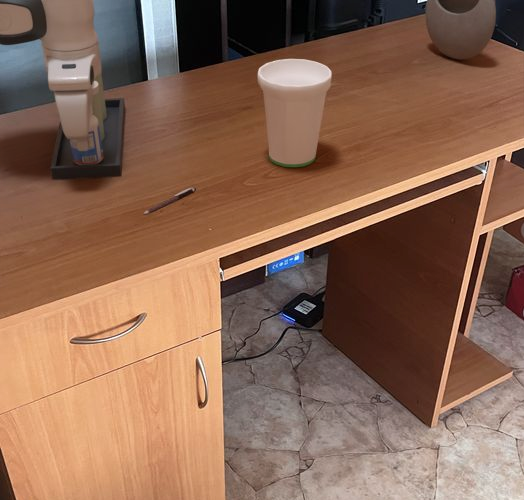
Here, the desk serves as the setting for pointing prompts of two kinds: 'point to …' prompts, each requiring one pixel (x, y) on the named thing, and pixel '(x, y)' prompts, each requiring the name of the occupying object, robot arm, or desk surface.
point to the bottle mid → (97, 109)
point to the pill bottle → (95, 145)
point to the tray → (111, 148)
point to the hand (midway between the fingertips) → (84, 140)
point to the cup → (293, 108)
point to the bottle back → (101, 95)
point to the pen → (171, 200)
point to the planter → (460, 26)
